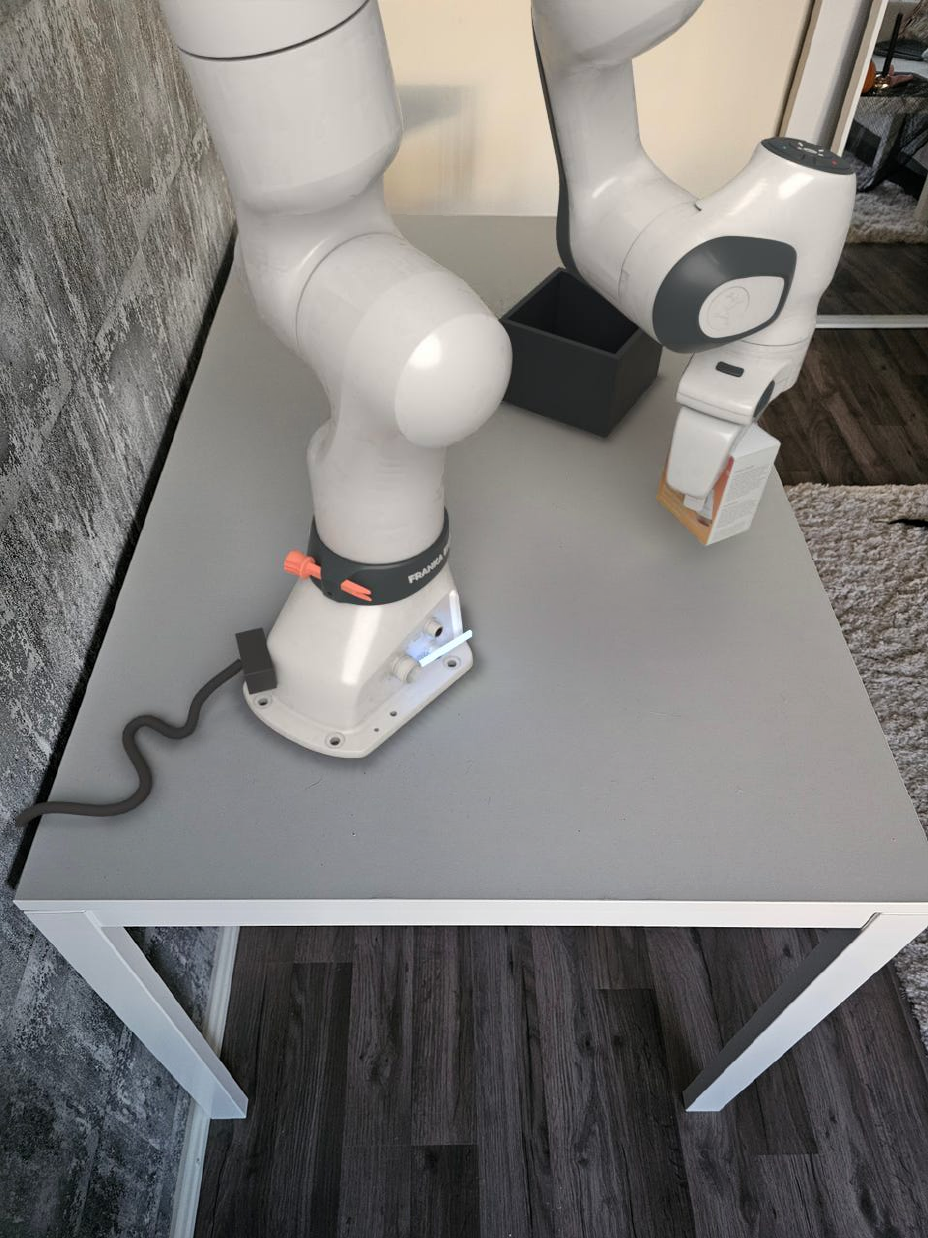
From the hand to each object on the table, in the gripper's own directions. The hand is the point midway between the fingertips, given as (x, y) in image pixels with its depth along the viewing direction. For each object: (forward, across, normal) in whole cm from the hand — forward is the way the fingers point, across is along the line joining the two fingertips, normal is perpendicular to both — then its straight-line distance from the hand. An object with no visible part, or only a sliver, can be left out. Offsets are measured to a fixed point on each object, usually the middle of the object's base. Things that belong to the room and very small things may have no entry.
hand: (710, 480), depth 86 cm
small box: (+4, 0, 0) cm, 4 cm away
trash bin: (+11, -24, -24) cm, 36 cm away
